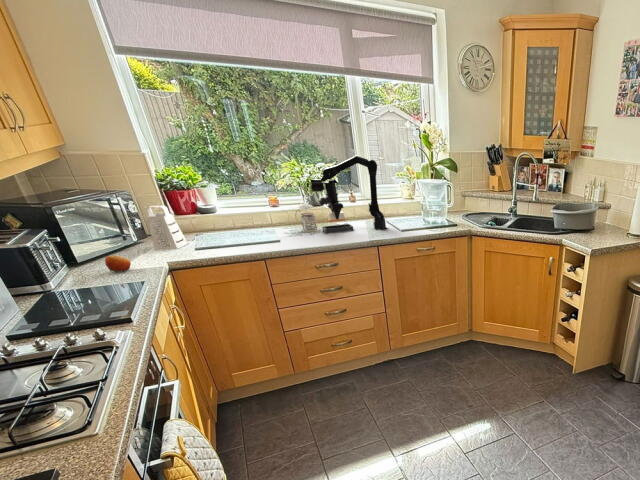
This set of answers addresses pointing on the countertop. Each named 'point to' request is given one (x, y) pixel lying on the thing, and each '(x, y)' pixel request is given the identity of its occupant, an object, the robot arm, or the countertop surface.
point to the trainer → (332, 217)
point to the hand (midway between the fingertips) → (336, 218)
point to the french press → (309, 217)
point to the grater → (165, 230)
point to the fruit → (117, 263)
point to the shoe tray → (337, 228)
